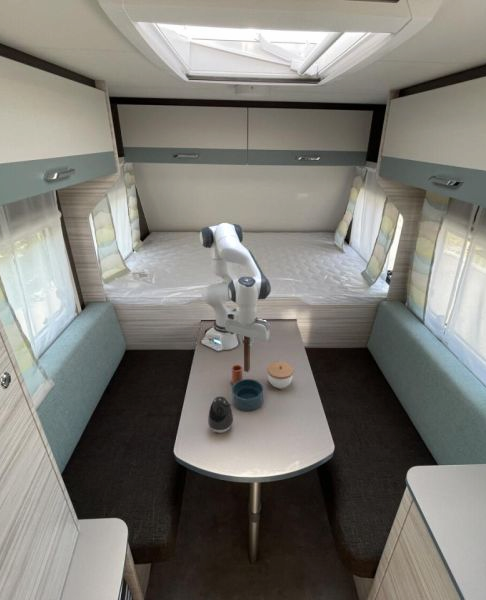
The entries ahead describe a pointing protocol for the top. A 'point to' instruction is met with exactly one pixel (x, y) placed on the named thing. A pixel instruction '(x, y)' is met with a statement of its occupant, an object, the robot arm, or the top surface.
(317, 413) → the top surface
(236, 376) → the pot
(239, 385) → the mixing bowl
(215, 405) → the black rounded egg shape
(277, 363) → the lidded bowl
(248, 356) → the stirring stick
